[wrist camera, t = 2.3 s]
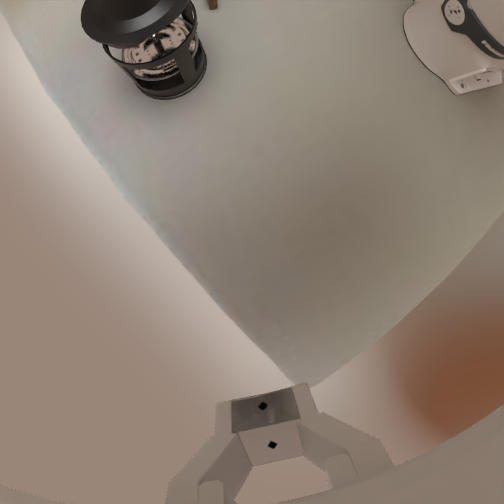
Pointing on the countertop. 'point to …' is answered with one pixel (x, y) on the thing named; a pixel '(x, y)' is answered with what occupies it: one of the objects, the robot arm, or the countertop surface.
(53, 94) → the countertop surface
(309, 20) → the countertop surface
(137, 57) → the french press
